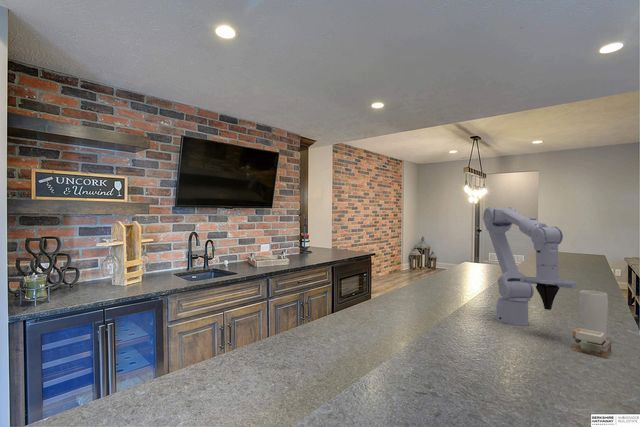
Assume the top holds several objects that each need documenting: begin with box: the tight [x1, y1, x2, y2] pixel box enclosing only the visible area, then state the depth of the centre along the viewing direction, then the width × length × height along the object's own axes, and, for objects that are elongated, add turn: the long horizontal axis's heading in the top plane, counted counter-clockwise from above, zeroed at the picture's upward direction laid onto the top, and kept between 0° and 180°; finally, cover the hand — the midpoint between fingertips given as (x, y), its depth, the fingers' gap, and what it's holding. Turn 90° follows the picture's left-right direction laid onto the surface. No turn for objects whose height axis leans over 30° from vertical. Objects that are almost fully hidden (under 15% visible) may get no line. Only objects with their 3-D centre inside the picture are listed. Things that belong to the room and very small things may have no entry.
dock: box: [571, 339, 612, 359], centre depth 93 cm, size 19×12×4 cm, turn 40°
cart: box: [572, 327, 605, 345], centre depth 89 cm, size 6×5×3 cm
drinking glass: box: [578, 289, 609, 340], centre depth 98 cm, size 7×7×15 cm
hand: (548, 309), depth 100 cm, fingers closed
